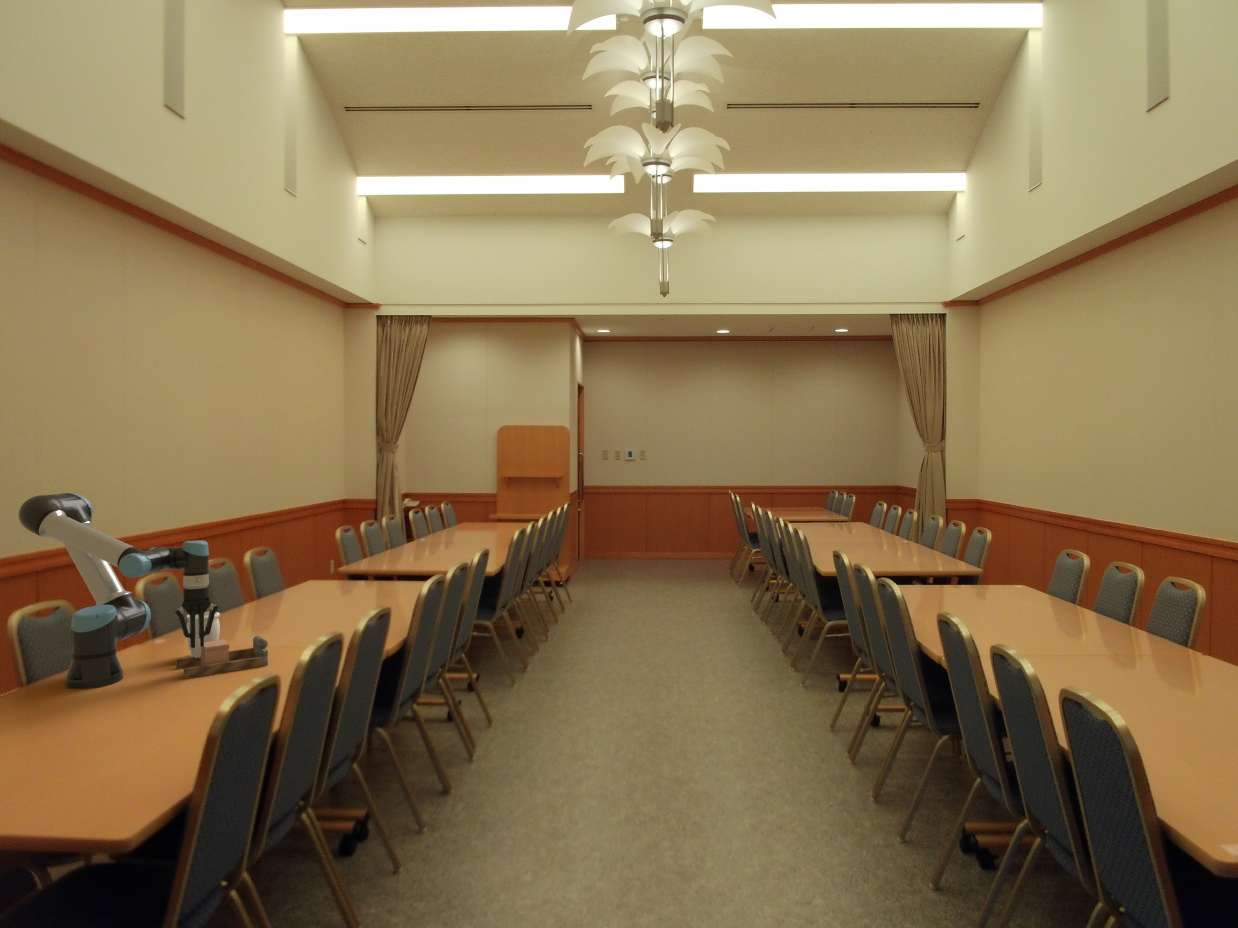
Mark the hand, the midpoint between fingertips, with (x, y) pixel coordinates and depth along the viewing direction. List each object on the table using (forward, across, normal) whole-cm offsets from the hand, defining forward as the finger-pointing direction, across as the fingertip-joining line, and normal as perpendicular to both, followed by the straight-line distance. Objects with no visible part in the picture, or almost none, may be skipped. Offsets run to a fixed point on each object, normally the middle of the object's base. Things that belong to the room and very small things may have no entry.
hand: (197, 656), depth 250 cm
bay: (+5, +8, 0) cm, 9 cm away
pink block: (+5, +5, 0) cm, 7 cm away
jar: (+5, +5, +19) cm, 21 cm away
